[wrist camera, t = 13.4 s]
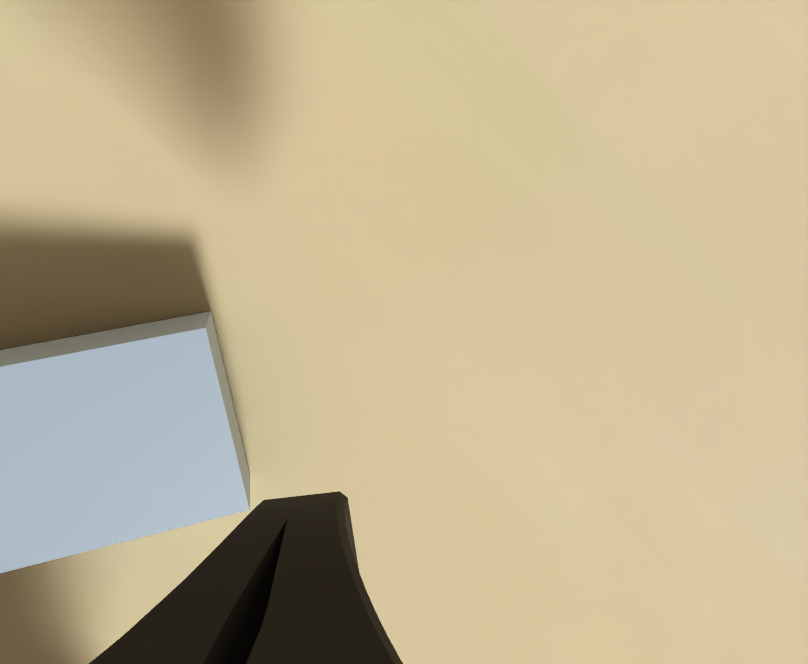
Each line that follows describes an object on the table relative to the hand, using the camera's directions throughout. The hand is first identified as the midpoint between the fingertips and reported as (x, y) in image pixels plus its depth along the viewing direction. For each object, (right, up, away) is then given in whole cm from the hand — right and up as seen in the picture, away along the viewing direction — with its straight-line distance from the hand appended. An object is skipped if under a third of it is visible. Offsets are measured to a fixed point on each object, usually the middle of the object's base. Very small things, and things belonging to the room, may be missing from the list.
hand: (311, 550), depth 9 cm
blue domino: (-3, +1, +6) cm, 7 cm away
